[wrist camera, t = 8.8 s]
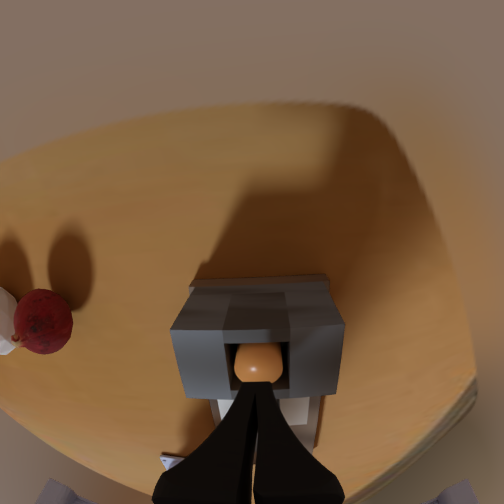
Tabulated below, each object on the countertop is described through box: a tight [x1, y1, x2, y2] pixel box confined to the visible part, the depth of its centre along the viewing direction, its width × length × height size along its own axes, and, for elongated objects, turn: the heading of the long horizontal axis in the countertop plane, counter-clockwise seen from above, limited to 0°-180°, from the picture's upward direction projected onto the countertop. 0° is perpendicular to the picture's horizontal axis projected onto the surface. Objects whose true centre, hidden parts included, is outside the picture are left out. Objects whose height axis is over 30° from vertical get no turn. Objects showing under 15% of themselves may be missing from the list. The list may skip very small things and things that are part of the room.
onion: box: [11, 289, 73, 354], centre depth 19 cm, size 6×6×8 cm
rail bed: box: [170, 274, 345, 464], centre depth 20 cm, size 23×10×8 cm, turn 3°
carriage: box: [217, 397, 310, 452], centre depth 18 cm, size 6×7×6 cm
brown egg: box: [234, 342, 283, 383], centre depth 16 cm, size 3×3×4 cm
